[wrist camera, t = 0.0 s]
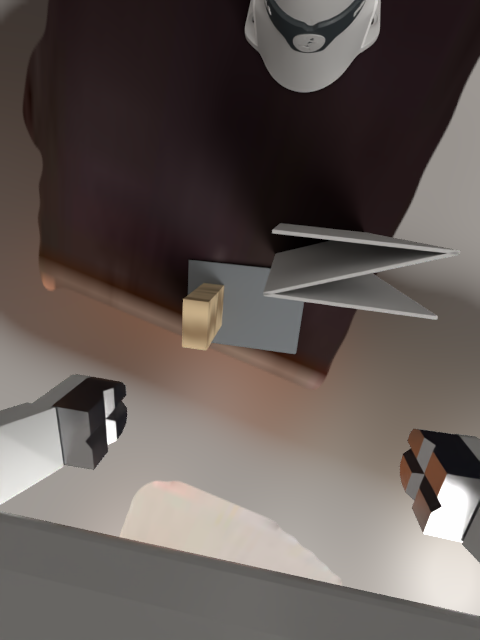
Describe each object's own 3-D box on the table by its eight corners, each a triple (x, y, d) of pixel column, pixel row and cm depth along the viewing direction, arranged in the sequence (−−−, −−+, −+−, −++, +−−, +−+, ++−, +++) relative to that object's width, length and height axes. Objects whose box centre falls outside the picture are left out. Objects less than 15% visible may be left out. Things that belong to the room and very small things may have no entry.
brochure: (275, 255, 54) (262, 295, 26) (279, 223, 52) (271, 229, 24) (356, 265, 53) (436, 319, 24) (364, 232, 51) (460, 250, 23)
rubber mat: (189, 259, 57) (188, 260, 56) (308, 272, 54) (308, 272, 54) (187, 338, 62) (186, 339, 61) (295, 352, 59) (295, 354, 59)
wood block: (203, 282, 57) (183, 299, 46) (224, 285, 57) (208, 302, 45) (201, 322, 60) (182, 347, 48) (221, 325, 59) (206, 350, 48)
